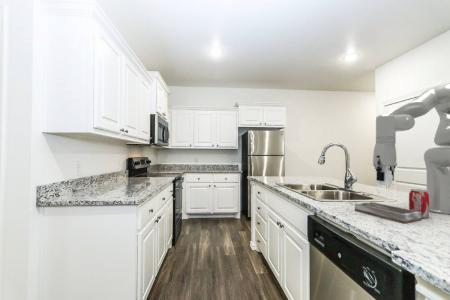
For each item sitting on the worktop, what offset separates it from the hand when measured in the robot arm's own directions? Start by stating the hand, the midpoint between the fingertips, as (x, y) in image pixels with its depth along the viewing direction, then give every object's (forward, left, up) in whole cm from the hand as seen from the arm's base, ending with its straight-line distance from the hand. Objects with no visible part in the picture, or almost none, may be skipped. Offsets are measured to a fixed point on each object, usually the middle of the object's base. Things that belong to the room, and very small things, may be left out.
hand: (385, 180), depth 106 cm
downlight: (0, 0, -2) cm, 2 cm away
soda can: (-12, +7, -16) cm, 22 cm away
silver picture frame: (0, 0, -16) cm, 16 cm away
